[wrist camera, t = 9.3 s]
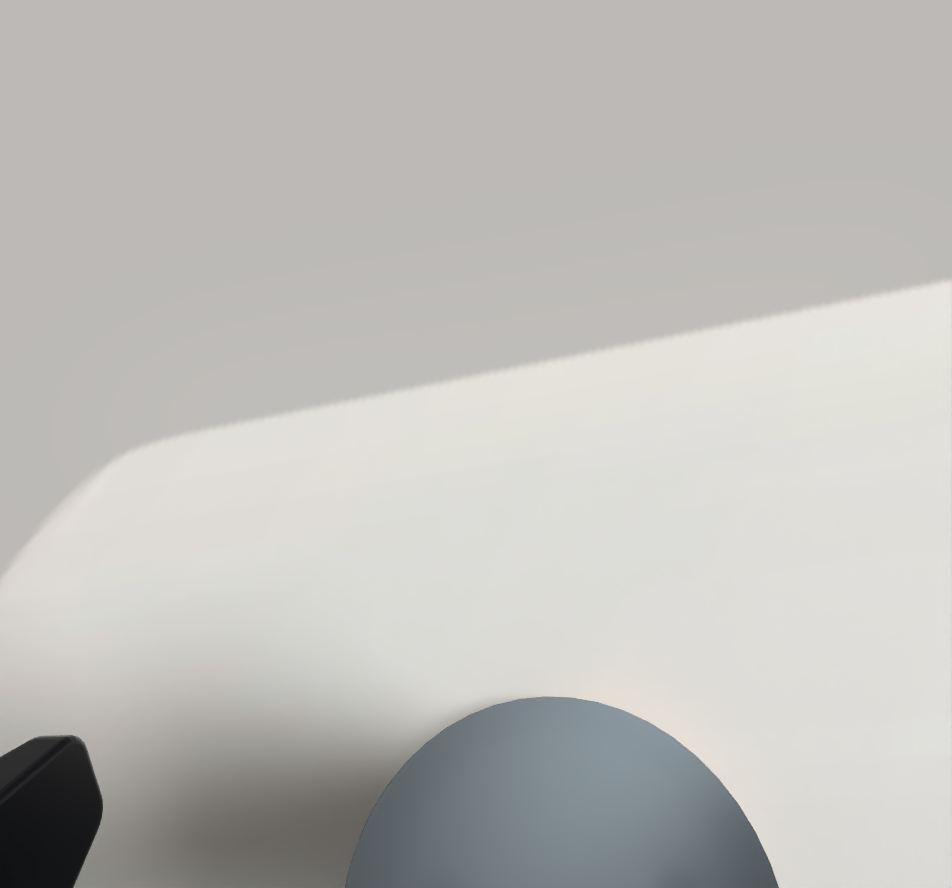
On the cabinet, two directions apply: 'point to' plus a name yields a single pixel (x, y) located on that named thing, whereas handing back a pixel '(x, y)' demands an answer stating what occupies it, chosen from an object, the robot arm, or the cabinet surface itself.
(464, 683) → the cabinet surface
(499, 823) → the grey rounded cylinder
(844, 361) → the cabinet surface
